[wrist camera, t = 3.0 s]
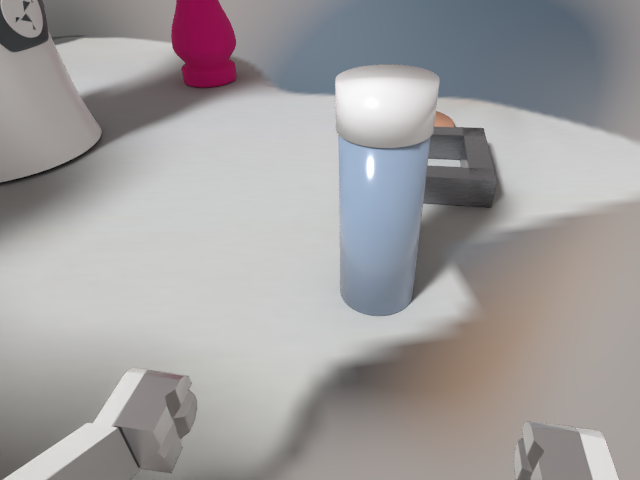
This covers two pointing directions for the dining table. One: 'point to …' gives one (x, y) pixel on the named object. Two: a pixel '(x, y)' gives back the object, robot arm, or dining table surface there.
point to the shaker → (382, 181)
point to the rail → (460, 168)
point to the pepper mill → (204, 43)
